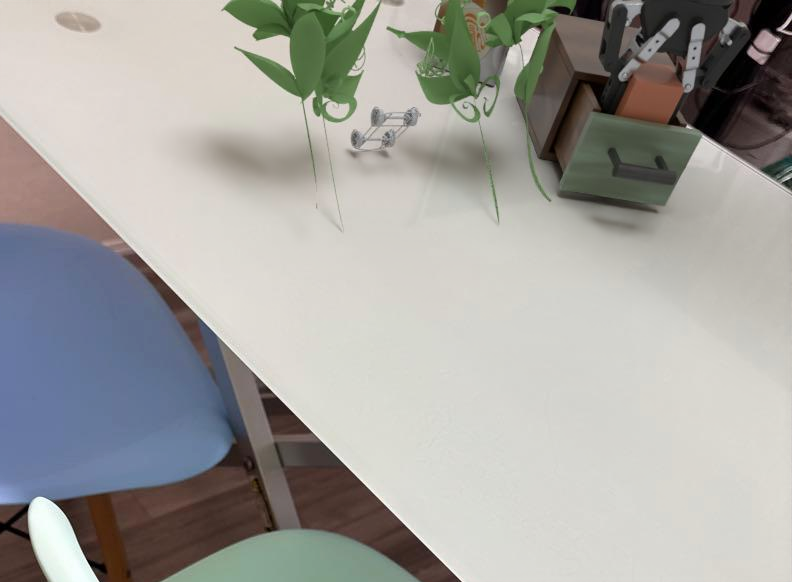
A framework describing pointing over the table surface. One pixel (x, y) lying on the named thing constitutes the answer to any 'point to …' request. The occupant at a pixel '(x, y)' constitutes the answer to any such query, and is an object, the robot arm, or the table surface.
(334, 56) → the plant cuttings
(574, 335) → the table surface
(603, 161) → the drawer
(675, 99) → the block
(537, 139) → the cabinet
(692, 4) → the robot arm
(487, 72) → the coffee box
